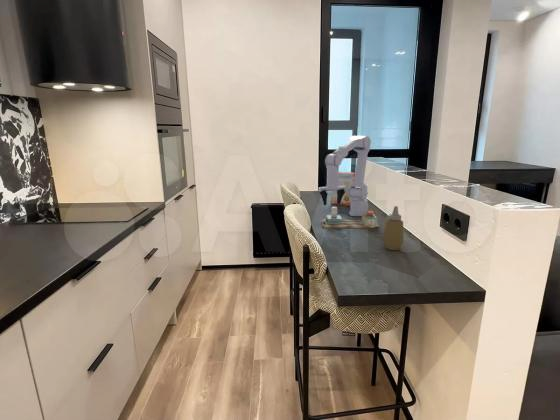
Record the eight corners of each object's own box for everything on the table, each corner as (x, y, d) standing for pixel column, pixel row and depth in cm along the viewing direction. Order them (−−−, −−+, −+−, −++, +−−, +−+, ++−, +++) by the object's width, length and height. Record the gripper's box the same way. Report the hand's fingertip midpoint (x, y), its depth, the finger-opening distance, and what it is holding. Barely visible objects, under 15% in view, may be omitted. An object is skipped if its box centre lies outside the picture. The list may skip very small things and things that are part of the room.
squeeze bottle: (388, 243, 141) (391, 203, 136) (406, 248, 135) (410, 206, 131) (378, 248, 135) (381, 206, 131) (397, 253, 130) (401, 210, 125)
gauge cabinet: (373, 222, 170) (373, 213, 169) (377, 227, 162) (377, 218, 161) (361, 222, 170) (362, 213, 169) (364, 227, 162) (365, 218, 161)
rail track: (375, 222, 170) (375, 217, 170) (379, 227, 162) (379, 222, 161) (321, 222, 172) (321, 217, 171) (322, 227, 163) (322, 222, 163)
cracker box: (354, 204, 208) (355, 172, 203) (350, 206, 203) (352, 173, 198) (334, 202, 215) (335, 170, 210) (330, 204, 210) (331, 172, 205)
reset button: (372, 218, 168) (373, 210, 167) (374, 221, 163) (375, 213, 162) (364, 218, 168) (364, 210, 167) (365, 221, 164) (366, 213, 163)
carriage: (339, 220, 170) (340, 205, 168) (341, 224, 163) (342, 209, 161) (326, 220, 171) (326, 205, 169) (327, 224, 164) (328, 209, 162)
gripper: (342, 176, 169) (341, 201, 172) (316, 177, 165) (315, 203, 168) (348, 178, 162) (347, 204, 165) (321, 179, 158) (320, 206, 162)
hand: (331, 204), depth 166 cm, fingers open, 7 cm apart
